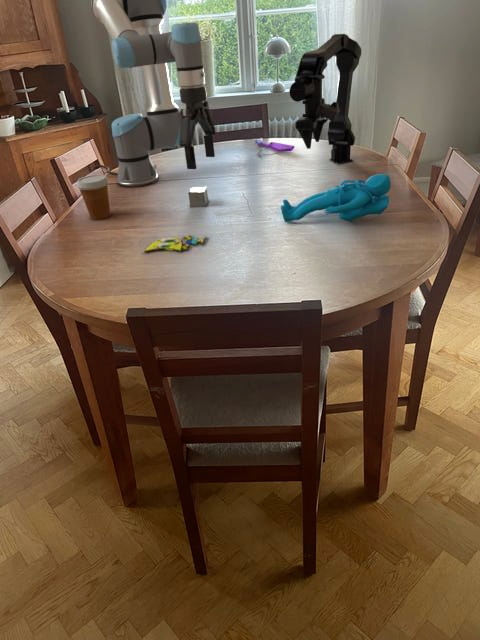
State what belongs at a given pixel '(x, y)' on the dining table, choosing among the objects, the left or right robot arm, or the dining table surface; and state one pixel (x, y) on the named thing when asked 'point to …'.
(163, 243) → the toy
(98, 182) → the disposable coffee cup
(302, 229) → the dining table surface
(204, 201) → the block
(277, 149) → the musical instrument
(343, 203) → the toy
